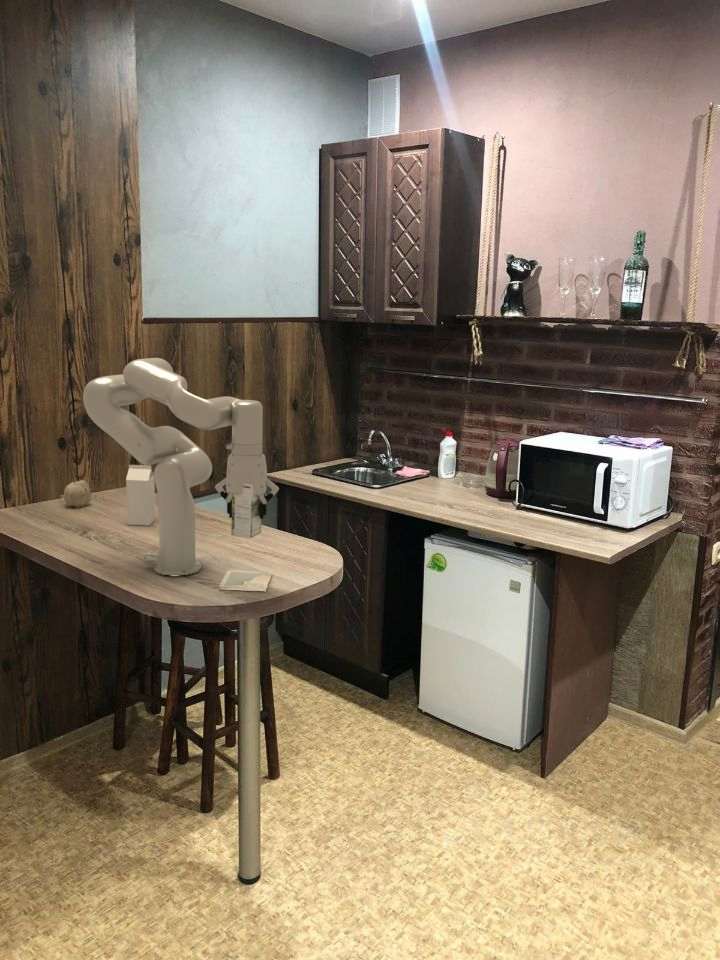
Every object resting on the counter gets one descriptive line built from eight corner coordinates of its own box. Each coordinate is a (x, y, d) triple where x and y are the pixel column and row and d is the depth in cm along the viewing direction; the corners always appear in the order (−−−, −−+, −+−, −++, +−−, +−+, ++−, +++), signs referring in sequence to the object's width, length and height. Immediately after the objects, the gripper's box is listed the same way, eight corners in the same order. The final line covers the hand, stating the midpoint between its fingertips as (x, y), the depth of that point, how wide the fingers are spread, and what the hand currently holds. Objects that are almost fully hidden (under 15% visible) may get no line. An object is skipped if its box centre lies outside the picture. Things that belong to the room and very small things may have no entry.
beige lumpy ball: (89, 510, 277) (98, 483, 277) (82, 513, 269) (92, 485, 268) (63, 501, 276) (72, 474, 276) (55, 503, 268) (65, 476, 268)
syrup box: (242, 530, 209) (242, 476, 206) (262, 533, 207) (262, 479, 204) (231, 535, 204) (231, 480, 200) (251, 539, 202) (251, 483, 198)
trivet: (219, 590, 203) (219, 586, 202) (227, 573, 214) (227, 570, 214) (266, 592, 203) (266, 588, 202) (272, 575, 214) (272, 572, 214)
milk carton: (149, 526, 254) (148, 468, 250) (127, 525, 254) (125, 467, 250) (155, 520, 261) (154, 463, 257) (133, 519, 261) (132, 462, 257)
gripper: (209, 451, 197) (210, 519, 201) (279, 453, 197) (278, 522, 201) (215, 445, 204) (215, 511, 208) (283, 448, 204) (282, 514, 208)
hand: (246, 516), depth 204 cm, fingers closed on syrup box, 7 cm apart
